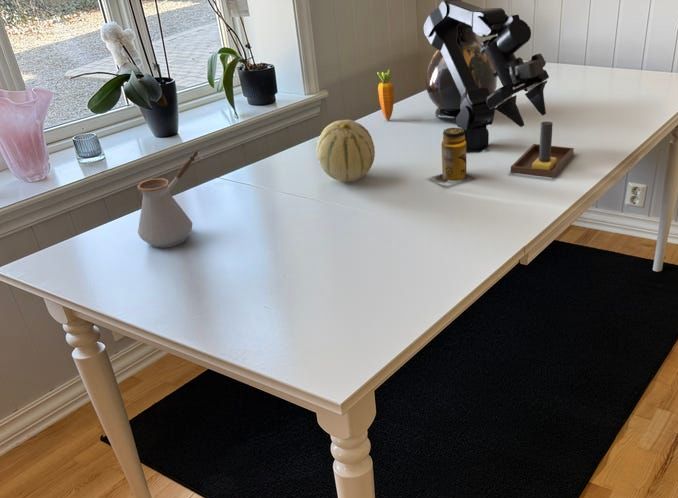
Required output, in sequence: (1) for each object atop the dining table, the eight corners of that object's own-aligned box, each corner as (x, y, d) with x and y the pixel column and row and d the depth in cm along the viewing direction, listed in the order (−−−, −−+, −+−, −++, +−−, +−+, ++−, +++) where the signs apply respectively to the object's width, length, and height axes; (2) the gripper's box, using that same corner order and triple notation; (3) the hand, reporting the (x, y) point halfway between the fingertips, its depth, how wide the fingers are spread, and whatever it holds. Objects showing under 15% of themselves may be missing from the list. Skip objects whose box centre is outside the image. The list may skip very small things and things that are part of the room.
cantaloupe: (352, 164, 185) (346, 107, 176) (389, 177, 176) (385, 117, 168) (308, 181, 177) (299, 121, 168) (344, 194, 168) (337, 133, 159)
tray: (552, 180, 169) (553, 171, 168) (510, 174, 174) (510, 166, 172) (573, 156, 182) (574, 148, 181) (533, 151, 187) (533, 143, 185)
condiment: (473, 179, 173) (473, 130, 166) (446, 187, 169) (444, 138, 162) (456, 171, 178) (455, 123, 171) (429, 179, 174) (427, 131, 167)
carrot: (377, 122, 215) (373, 71, 206) (384, 117, 218) (380, 67, 210) (392, 123, 213) (388, 72, 204) (398, 118, 217) (395, 68, 208)
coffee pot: (171, 255, 146) (152, 187, 137) (130, 247, 150) (109, 180, 141) (233, 215, 161) (219, 152, 152) (194, 209, 165) (178, 147, 157)
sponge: (548, 174, 171) (551, 127, 164) (531, 172, 172) (534, 126, 166) (556, 166, 175) (559, 120, 168) (539, 164, 177) (541, 118, 170)
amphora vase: (487, 129, 204) (488, 25, 188) (418, 125, 210) (413, 24, 194) (503, 108, 221) (505, 11, 204) (438, 105, 227) (436, 10, 210)
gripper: (502, 54, 156) (534, 117, 159) (549, 34, 167) (578, 94, 169) (472, 78, 165) (502, 137, 168) (518, 58, 176) (546, 114, 178)
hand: (533, 120), depth 171 cm, fingers open, 9 cm apart
